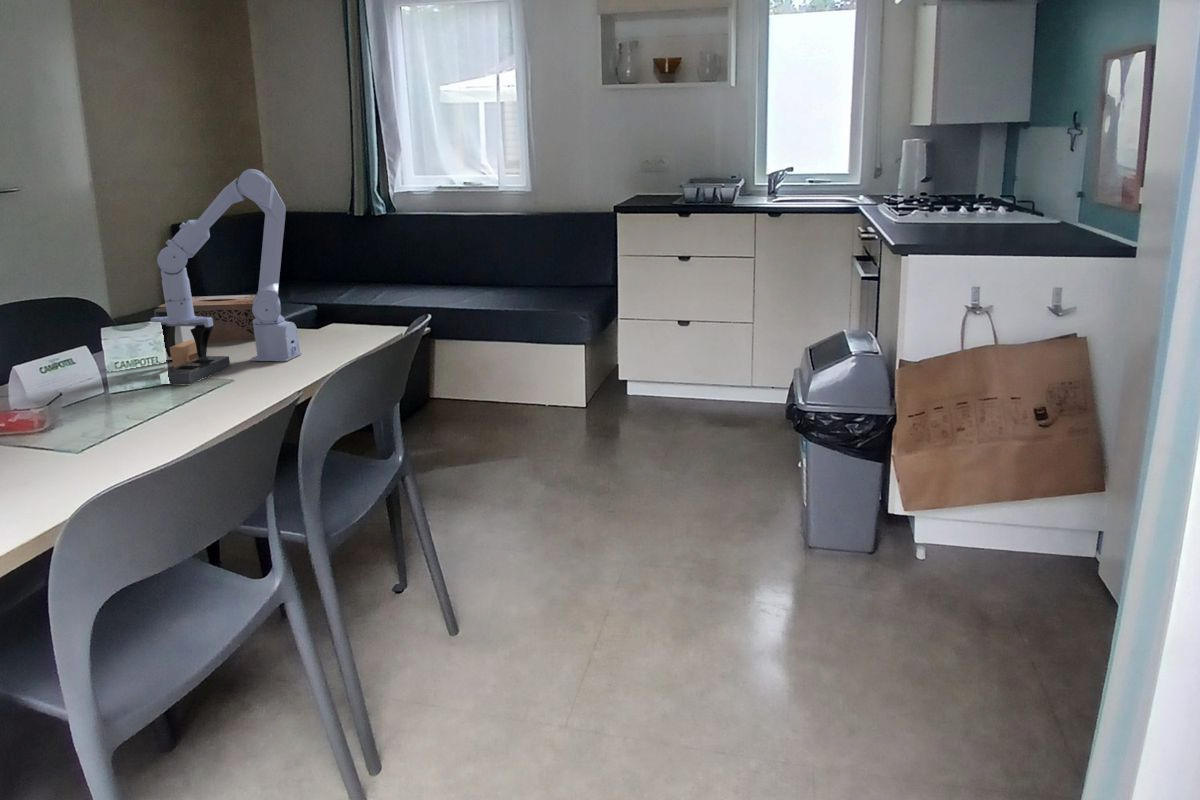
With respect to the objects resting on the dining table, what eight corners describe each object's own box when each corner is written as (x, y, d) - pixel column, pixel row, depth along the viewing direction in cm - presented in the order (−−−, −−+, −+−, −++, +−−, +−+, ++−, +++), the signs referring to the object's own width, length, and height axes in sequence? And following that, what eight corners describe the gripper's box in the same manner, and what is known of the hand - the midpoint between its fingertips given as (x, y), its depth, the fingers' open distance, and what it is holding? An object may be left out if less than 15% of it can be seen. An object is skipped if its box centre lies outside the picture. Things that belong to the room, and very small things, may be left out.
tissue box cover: (278, 329, 255) (274, 294, 252) (261, 340, 241) (256, 303, 238) (186, 332, 255) (180, 297, 252) (163, 344, 241) (157, 306, 238)
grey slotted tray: (203, 366, 214) (201, 356, 213) (230, 366, 213) (228, 356, 212) (160, 384, 199) (158, 373, 198) (189, 385, 198) (188, 373, 197)
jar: (202, 356, 224) (195, 308, 220) (167, 362, 219) (159, 313, 215) (191, 351, 230) (184, 304, 227) (157, 356, 226) (149, 308, 222)
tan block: (193, 362, 219) (190, 339, 217) (205, 362, 218) (201, 339, 217) (173, 370, 211) (169, 347, 210) (185, 370, 211) (181, 347, 209)
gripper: (138, 302, 208) (148, 360, 212) (197, 302, 205) (205, 361, 209) (158, 296, 214) (167, 353, 218) (214, 296, 212) (223, 353, 216)
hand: (187, 356), depth 214 cm, fingers open, 7 cm apart
